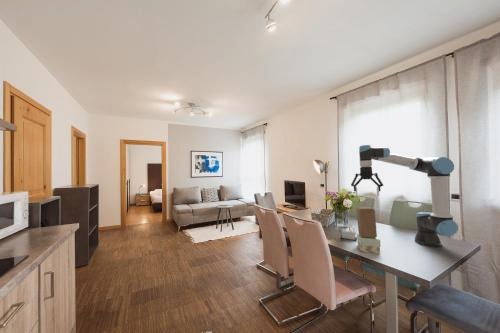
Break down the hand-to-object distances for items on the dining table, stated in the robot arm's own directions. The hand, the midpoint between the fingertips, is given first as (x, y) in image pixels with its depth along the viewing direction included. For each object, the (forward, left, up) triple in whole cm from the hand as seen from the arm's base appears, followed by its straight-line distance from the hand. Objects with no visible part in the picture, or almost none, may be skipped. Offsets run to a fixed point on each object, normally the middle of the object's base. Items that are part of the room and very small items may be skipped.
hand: (367, 195), depth 147 cm
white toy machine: (+10, -26, -39) cm, 48 cm away
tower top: (+1, 0, -34) cm, 34 cm away
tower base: (+1, 0, -39) cm, 39 cm away
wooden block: (+1, 0, -29) cm, 29 cm away
